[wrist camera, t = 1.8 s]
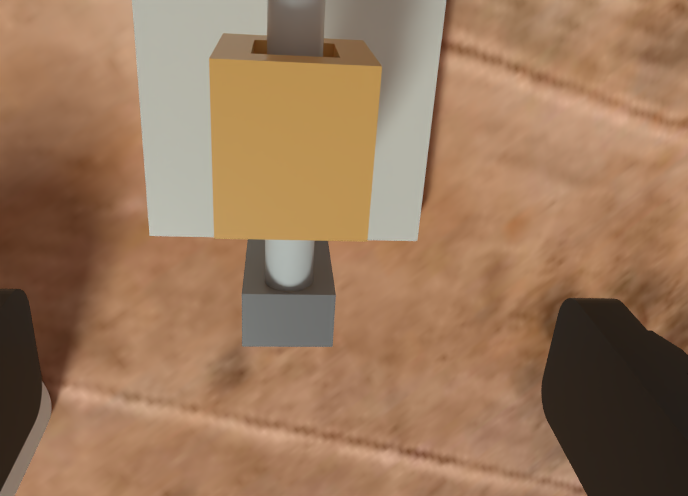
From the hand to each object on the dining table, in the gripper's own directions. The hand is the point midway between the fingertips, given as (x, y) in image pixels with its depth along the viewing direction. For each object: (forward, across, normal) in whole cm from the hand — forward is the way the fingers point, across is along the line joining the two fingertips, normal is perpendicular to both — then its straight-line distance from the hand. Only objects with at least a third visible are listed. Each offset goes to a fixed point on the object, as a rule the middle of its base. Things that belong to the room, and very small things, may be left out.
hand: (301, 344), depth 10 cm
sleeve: (+13, 0, 0) cm, 13 cm away
